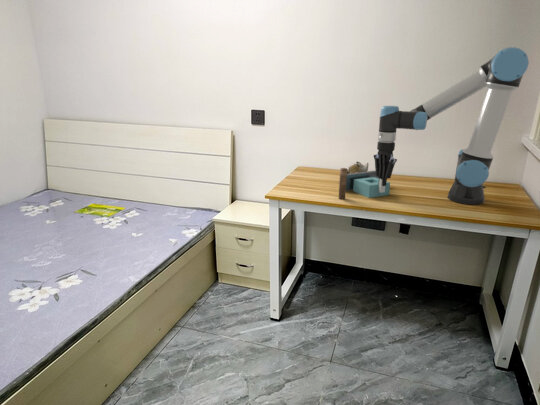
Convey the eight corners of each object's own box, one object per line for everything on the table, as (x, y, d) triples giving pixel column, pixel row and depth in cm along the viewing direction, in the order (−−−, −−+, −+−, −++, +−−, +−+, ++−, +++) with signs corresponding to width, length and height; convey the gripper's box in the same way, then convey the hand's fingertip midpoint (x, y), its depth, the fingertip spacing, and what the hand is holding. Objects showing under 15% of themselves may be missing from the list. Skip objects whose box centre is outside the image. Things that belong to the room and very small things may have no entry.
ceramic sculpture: (373, 161, 216) (349, 165, 212) (373, 177, 219) (348, 180, 214) (363, 158, 225) (339, 161, 221) (363, 172, 228) (339, 176, 224)
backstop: (380, 186, 202) (381, 170, 199) (341, 191, 192) (342, 175, 189) (377, 185, 203) (379, 170, 201) (338, 190, 194) (339, 174, 191)
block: (388, 194, 188) (390, 182, 186) (368, 197, 183) (369, 185, 181) (372, 188, 198) (373, 176, 196) (353, 191, 193) (353, 179, 191)
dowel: (346, 198, 181) (348, 169, 177) (341, 199, 180) (343, 169, 176) (342, 197, 184) (344, 167, 179) (337, 197, 182) (339, 168, 178)
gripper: (370, 139, 180) (366, 189, 187) (389, 144, 169) (384, 196, 176) (383, 138, 183) (378, 187, 190) (403, 142, 172) (397, 194, 179)
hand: (381, 192), depth 183 cm, fingers closed
